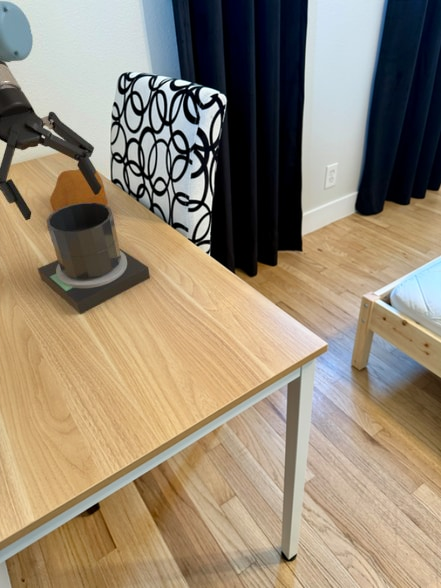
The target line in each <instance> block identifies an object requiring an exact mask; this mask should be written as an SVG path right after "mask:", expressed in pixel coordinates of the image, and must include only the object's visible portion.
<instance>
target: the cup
mask: <svg viewBox="0 0 441 588" xmlns="http://www.w3.org/2000/svg"><path fill="white" fill-rule="evenodd" d="M46 227H47V230H48V233H49V236H50V239H51V242H52V245H53V248H54V252H55V255H56V258H57V259H56V260H58V262H59V265H60V268H61V271H62V272H63V273H64V274H65V275H67V276H68V277H72V278H76V279H91V278H96V277H100V276H102V275H105V274H107V273H108V272H111V271H112V270H113V269H114V268H115V267H117V266H118V265H119V263H120V260H121V254H120V249H121V248H120V245H119V239H118V234H117V230H116V224H115V220H114V214H113V212H112V209H111V208H110V207H109V206H108V205H107V206H105V205H104V204H99V203H78V204H72V205H68V206H66V207H63V208H60V209H58V210H57V211H53V212H52V213H50V214H49V216H48V217H47V219H46ZM119 248H120V249H119Z"/></svg>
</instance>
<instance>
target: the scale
mask: <svg viewBox="0 0 441 588" xmlns="http://www.w3.org/2000/svg"><path fill="white" fill-rule="evenodd" d="M119 249H120V254H121V260H120V263H119V265H118V266H117V267H115V268H114V269H113V270H112V271H111V272H108V273H107V274H105V275H102V276H100V277H96V278H91V279H76V278H72V277H68V276H67V275H65V274H64V273H63V272H62V271H61V268H60V265H59V262H58V259H56V260H54V261H52V262H49V263H47V264H45V265H43V266H40V267H38V268H37V271H38V274H39V277H40V279H41V280H42V281H43V282H44V283H45V284H46V285H47V286H48V287H49V288H51V290H53V292H55V293H56V294H57V295H58V296H60V298H62V299H63V301H65V302H66V303H68V305H70V306H71V307H72V308H73V310H75V311H76V312H78V313H79V314H80V315H81V314H84V313H86V312H88V311H89V310H90V311H91V310H92V309H93V308H95V307H97V306H99V305H101V304H103V303H105V302H106V301H109V300H110V299H113V298H114V297H116V296H118V295H120V294H122V293H123V292H126V291H127V290H130V289H131V288H133V287H135V286H137V285H139V284H141V283H142V282H144V281H145V282H146V280H148V279H150V278H151V275H150V270H149V266H147V265H146V264H144V263H143V262H141V261H140V260H139V259H136V258H135V257H133V256H132V255H131V254H130V253H128V252H127V251H124V250H123V249H121V248H120V247H119Z"/></svg>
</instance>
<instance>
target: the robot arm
mask: <svg viewBox="0 0 441 588" xmlns="http://www.w3.org/2000/svg"><path fill="white" fill-rule="evenodd" d="M33 38H34V37H33V34H32V30H31V24H30V22H29V19H28V18H27V15H26V14H25V13H24V11H23V10H22V9H21V7H19V6H18V5H17V4H15V3H14V2H11V1H6V0H0V141H2V142H4V143H6V146H5V149H4V153H3V156H2V161H1V163H0V191H1V193H2V195H3V196H4V198H5V200H6V201H7V203H9V204H13V203H15V205H16V207H17V208H18V210H19V212H20V214H21V215H22V217H23V218H24V220H25V221H28V220H31V216H32V210H31V209H30V208H29V206H28V203H26V201H25V199H24V198H23V196H22V194H21V192H20V191H19V189H18V187H17V186H16V184H15V182H14V181H13V179H12V178H10V179H8V175H9V172H10V168H11V165H12V161H13V158H14V156H15V151H16V150H20V151H25V150H27V149H29V148H37V147H38V146H39V145H41V146H43V147H46V148H47V147H48V148H50V149H52V150H55V151H56V152H59V153H61V154H62V155H65V156H67V157H68V158H70V159H72V160H75V161H76V162H77V164H76V166H77V169H80V171H81V173H82V174H83V176H84V178H85V179H86V181H87V183H88V184H89V186H90V188H91V189H92V191H93V193H94V194H95V195H97V194H99V192H100V190H101V188H102V187H101V185H100V184H99V182H98V180H97V179H96V177H95V173H96V171H97V170H96V167H95V166H94V164H93V161H91V159H90V158H92V155H93V153H94V150H95V147H94V146H93V145H92V144H91V143H90V142H88V141H87V140H86V139H85V138H83V137H82V136H81V135H79V134H78V132H75V131H74V130H73V129H72V128H71V127H69V126H68V125H66V124H65V123H64V122H63V121H62V120H61V119H60V118H59V117H58V115H57V114H56V113H55V112H54V111H49V112H48V115H46V116H44V117H40V116H38V114H37V113H36V112H35V110H34V109H35V108H34V107H33V106H32V104H31V102H30V101H29V99H28V97H27V96H26V94H25V92H24V91H23V90H22V87H21V86H20V84H19V83H18V81H17V79H16V77H15V76H14V74H13V73H12V71H11V69H10V68H9V66H8V64H7V63H11V62H21V61H24V60H25V59H26V58H28V57H29V56H30V54H31V52H32V49H33V44H34V43H33V42H34V41H33ZM45 127H47V128H48V129H47V128H45ZM50 130H52V131H53V132H54V133H55V134H56V135H55V134H54V133H52V131H50Z"/></svg>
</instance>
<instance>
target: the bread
mask: <svg viewBox="0 0 441 588" xmlns="http://www.w3.org/2000/svg"><path fill="white" fill-rule="evenodd" d="M95 177H96V179H97V180H98V182H99V184H100V185H101V187H102V188H101V190H100V192H99V194H97V195H95V194H94V193H93V191H92V189H91V188H90V186H89V184H88V183H87V181H86V179H85V178H84V176H83V174H82V173H81V171H80V169H79V168H77V169H69V170H64V171H62V172H60V174H59V175H58V176H57V179H56V183H55V187H54V189H53V192H52V193H51V196H50V197H49V203H50V206H51V209H52V210H53V212H55V211H57V210H58V209H60V208H63V207H66V206H68V205H72V204H78V203H99V204H104V205H105V206H107V207H108V205H109V203H108V197H107V194H106V189H105V186H104V181H103V179H102V177H101V176H100V173H98V171H97V170H96V173H95Z"/></svg>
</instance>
